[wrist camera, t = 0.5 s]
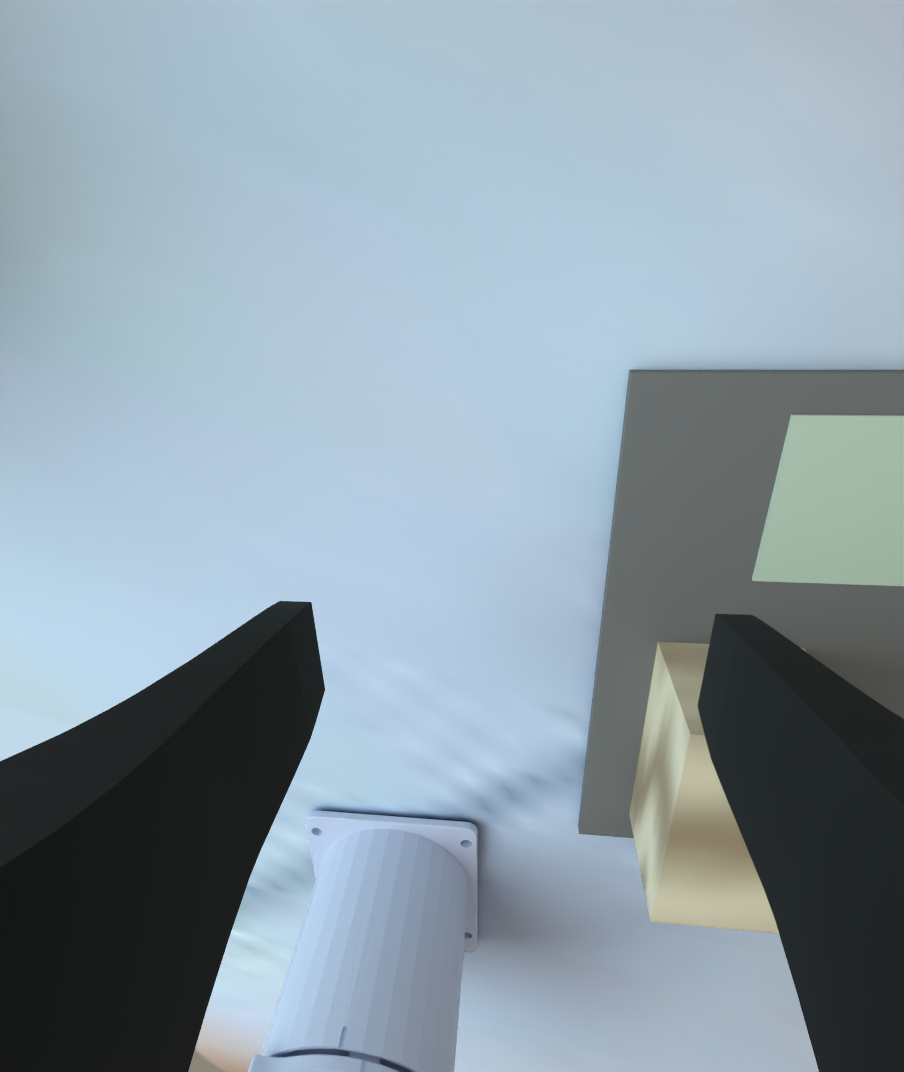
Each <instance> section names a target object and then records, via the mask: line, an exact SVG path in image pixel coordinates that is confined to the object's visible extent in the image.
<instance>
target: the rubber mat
mask: <svg viewBox="0 0 904 1072" xmlns="http://www.w3.org/2000/svg"><path fill="white" fill-rule="evenodd" d="M715 614H743V615H754V616H755V617H757V618H759V619H760V620H762V621H763V622H765V623H766V624H768V625H769V626H771V627H772V628H774V629H775V630H776V631H778V632H779V633H781V634H782V635H783V636H785V637H786V638H788V639H789V640H790V641H792V642H793V643H794V644H796V645H797V646H799V647H800V648H804V649H805V650H806V651H807V653H808V654H810V655H811V656H812V657H814V658H815V659H817V660H818V661H819V662H821V663H822V664H824V665H825V666H826V667H828V668H829V669H830V670H832V671H833V672H835V673H836V674H838V675H839V676H840V677H842V678H843V679H845V680H846V681H847V682H849V683H850V684H852V685H853V686H855V687H856V688H858V689H859V690H860V691H862V692H863V693H865V694H866V695H868V696H869V697H871V698H872V699H874V700H875V701H877V702H878V703H880V704H881V705H883V706H884V707H886V708H887V709H889V710H890V711H892V712H893V713H895V714H897V715H898V716H900V717H901V718H903V719H904V370H629V379H628V387H627V396H626V405H625V414H624V423H623V432H622V441H621V450H620V459H619V468H618V476H617V485H616V494H615V503H614V512H613V521H612V530H611V539H610V548H609V557H608V565H607V574H606V583H605V592H604V601H603V610H602V619H601V628H600V637H599V646H598V655H597V663H596V672H595V681H594V690H593V699H592V708H591V717H590V726H589V735H588V744H587V752H586V761H585V770H584V779H583V788H582V797H581V806H580V815H579V824H578V828H579V834H588V835H601V836H614V837H627V838H634V835H633V830H632V825H631V820H630V815H629V813H630V807H631V801H632V795H633V789H634V783H635V777H636V770H637V764H638V758H639V752H640V746H641V740H642V734H643V728H644V722H645V716H646V710H647V704H648V698H649V692H650V686H651V680H652V674H653V668H654V662H655V656H656V650H657V644H658V642H676V643H698V644H710V639H711V634H712V629H713V624H714V618H715Z"/></svg>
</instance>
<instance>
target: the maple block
mask: <svg viewBox="0 0 904 1072" xmlns="http://www.w3.org/2000/svg"><path fill="white" fill-rule="evenodd" d="M708 649H709V644H698V643H676V642H658V644H657V650H656V656H655V662H654V668H653V674H652V680H651V686H650V692H649V698H648V704H647V710H646V716H645V722H644V728H643V734H642V740H641V746H640V752H639V758H638V764H637V770H636V777H635V783H634V789H633V795H632V801H631V807H630V813H629V815H630V820H631V825H632V830H633V835H634V841H635V846H636V851H637V856H638V861H639V866H640V871H641V877H642V882H643V887H644V892H645V897H646V902H647V907H648V913H649V918H650V922H659V923H670V924H681V925H692V926H703V927H714V928H725V929H736V930H747V931H758V932H769V933H779V931H778V928H777V925H776V921H775V918H774V916H773V913H772V910H771V907H770V905H769V902H768V899H767V896H766V894H765V891H764V888H763V886H762V883H761V881H760V878H759V876H758V874H757V871H756V869H755V866H754V864H753V861H752V859H751V857H750V854H749V852H748V849H747V847H746V844H745V842H744V839H743V837H742V835H741V832H740V830H739V827H738V825H737V822H736V820H735V818H734V815H733V813H732V810H731V808H730V805H729V803H728V800H727V798H726V795H725V793H724V791H723V788H722V786H721V783H720V781H719V778H718V776H717V773H716V770H715V768H714V765H713V763H712V760H711V757H710V753H709V750H708V746H707V742H706V739H705V735H704V731H703V727H702V723H701V719H700V714H699V710H698V701H699V695H700V690H701V685H702V680H703V675H704V670H705V665H706V660H707V654H708ZM801 649H803V650H804V651H806V650H805V649H804V648H801ZM806 652H807V651H806Z"/></svg>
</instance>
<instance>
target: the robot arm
mask: <svg viewBox="0 0 904 1072" xmlns="http://www.w3.org/2000/svg"><path fill="white" fill-rule="evenodd" d="M324 691H325V687H324V680H323V674H322V668H321V661H320V655H319V649H318V642H317V636H316V629H315V623H314V617H313V610H312V604H311V602H290V601H279V602H277V603H276V604H274V605H272V606H270V607H269V608H267V609H266V610H264V611H263V612H261V613H260V614H258V615H257V616H255V617H254V618H252V619H251V620H249V621H248V622H246V623H245V624H243V625H242V626H240V627H239V628H237V629H236V630H235V631H233V632H232V633H230V634H229V635H227V636H226V637H224V638H223V639H221V640H220V641H218V642H217V643H215V644H214V645H212V646H211V647H210V648H208V649H207V650H205V651H204V652H202V653H201V654H199V655H198V656H196V657H195V658H193V659H192V660H190V661H189V662H187V663H185V664H184V665H182V666H181V667H179V668H177V669H176V670H174V671H172V672H171V673H169V674H168V675H166V676H164V677H163V678H161V679H160V680H158V681H156V682H155V683H153V684H152V685H150V686H148V687H147V688H145V689H144V690H142V691H140V692H139V693H137V694H135V695H133V696H132V697H130V698H128V699H127V700H125V701H123V702H121V703H119V704H118V705H116V706H114V707H112V708H110V709H109V710H107V711H105V712H103V713H101V714H99V715H97V716H95V717H93V718H91V719H89V720H88V721H86V722H84V723H82V724H80V725H78V726H76V727H74V728H72V729H70V730H68V731H66V732H64V733H62V734H60V735H58V736H56V737H53V738H51V739H49V740H47V741H45V742H42V743H40V744H38V745H36V746H33V747H31V748H29V749H27V750H25V751H22V752H20V753H18V754H16V755H14V756H11V757H9V758H7V759H5V760H3V761H0V1072H188V1070H189V1067H190V1064H191V1060H192V1056H193V1053H194V1050H195V1046H196V1043H197V1040H198V1036H199V1033H200V1029H201V1026H202V1023H203V1019H204V1016H205V1012H206V1009H207V1006H208V1002H209V999H210V996H211V993H212V990H213V987H214V983H215V980H216V977H217V974H218V971H219V968H220V964H221V961H222V958H223V955H224V952H225V949H226V945H227V942H228V939H229V936H230V933H231V930H232V927H233V924H234V921H235V919H236V916H237V913H238V910H239V907H240V904H241V901H242V898H243V895H244V892H245V889H246V886H247V883H248V880H249V877H250V875H251V873H252V870H253V868H254V865H255V863H256V860H257V858H258V855H259V853H260V850H261V848H262V846H263V844H264V841H265V839H266V837H267V835H268V833H269V830H270V828H271V826H272V824H273V821H274V819H275V817H276V815H277V813H278V810H279V808H280V806H281V804H282V802H283V799H284V797H285V795H286V793H287V791H288V788H289V786H290V784H291V782H292V779H293V777H294V775H295V773H296V770H297V768H298V766H299V764H300V761H301V759H302V757H303V755H304V752H305V750H306V748H307V745H308V743H309V741H310V738H311V735H312V732H313V729H314V726H315V722H316V719H317V716H318V712H319V709H320V705H321V702H322V698H323V695H324ZM698 710H699V714H700V719H701V723H702V727H703V731H704V735H705V739H706V742H707V746H708V750H709V753H710V757H711V760H712V763H713V765H714V768H715V770H716V773H717V776H718V778H719V781H720V783H721V786H722V788H723V791H724V793H725V795H726V798H727V800H728V803H729V805H730V808H731V810H732V813H733V815H734V818H735V820H736V822H737V825H738V827H739V830H740V832H741V835H742V837H743V839H744V842H745V844H746V847H747V849H748V852H749V854H750V857H751V859H752V861H753V864H754V866H755V869H756V871H757V874H758V876H759V878H760V881H761V883H762V886H763V888H764V891H765V894H766V896H767V899H768V902H769V905H770V907H771V910H772V913H773V916H774V918H775V921H776V925H777V928H778V931H779V934H780V938H781V941H782V944H783V948H784V951H785V954H786V958H787V961H788V964H789V967H790V971H791V974H792V977H793V981H794V984H795V987H796V991H797V994H798V998H799V1001H800V1005H801V1008H802V1012H803V1016H804V1019H805V1023H806V1026H807V1030H808V1033H809V1037H810V1040H811V1044H812V1048H813V1051H814V1055H815V1058H816V1062H817V1065H818V1069H819V1072H904V719H903V718H901V717H900V716H898V715H897V714H895V713H893V712H892V711H890V710H889V709H887V708H886V707H884V706H883V705H881V704H880V703H878V702H877V701H875V700H874V699H872V698H871V697H869V696H868V695H866V694H865V693H863V692H862V691H860V690H859V689H858V688H856V687H855V686H853V685H852V684H850V683H849V682H847V681H846V680H845V679H843V678H842V677H840V676H839V675H838V674H836V673H835V672H833V671H832V670H830V669H829V668H828V667H826V666H825V665H824V664H822V663H821V662H819V661H818V660H817V659H815V658H814V657H812V656H811V655H810V654H808V653H807V652H806V651H804V650H803V649H801V648H800V647H799V646H797V645H796V644H794V643H793V642H792V641H790V640H789V639H788V638H786V637H785V636H783V635H782V634H781V633H779V632H778V631H776V630H775V629H774V628H772V627H771V626H769V625H768V624H766V623H765V622H763V621H762V620H760V619H759V618H757V617H755V616H754V615H743V614H715V618H714V624H713V629H712V634H711V639H710V644H709V649H708V654H707V660H706V665H705V670H704V675H703V680H702V685H701V690H700V695H699V701H698ZM305 824H306V829H307V834H308V840H309V845H310V850H311V856H312V861H313V866H314V871H315V877H316V883H315V886H314V889H313V892H312V896H311V899H310V902H309V905H308V908H307V911H306V914H305V918H304V921H303V924H302V927H301V930H300V933H299V936H298V939H297V943H296V946H295V949H294V952H293V955H292V958H291V961H290V965H289V968H288V971H287V974H286V977H285V980H284V983H283V986H282V990H281V993H280V996H279V999H278V1002H277V1005H276V1008H275V1012H274V1015H273V1018H272V1021H271V1024H270V1027H269V1030H268V1033H267V1037H266V1040H265V1043H264V1046H263V1049H262V1052H261V1055H257V1054H256V1055H254V1056H253V1058H252V1061H251V1064H250V1067H249V1070H248V1072H454V1066H455V1053H456V1041H457V1028H458V1015H459V1002H460V990H461V977H462V964H463V952H474V951H475V950H476V949H477V941H478V830H477V827H476V826H475V825H474V824H472V823H469V822H461V821H448V820H435V819H422V818H409V817H396V816H383V815H370V814H357V813H344V812H331V811H318V810H316V811H311V812H309V813H308V815H307V818H306V821H305Z"/></svg>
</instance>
